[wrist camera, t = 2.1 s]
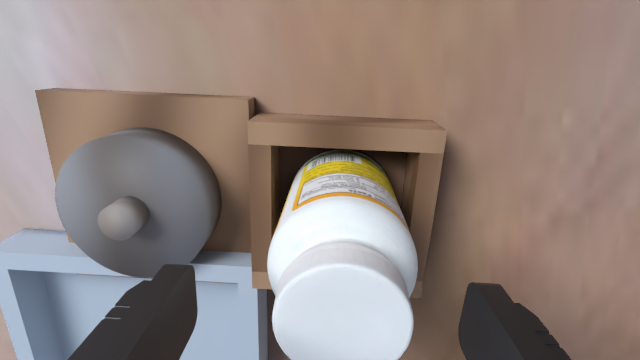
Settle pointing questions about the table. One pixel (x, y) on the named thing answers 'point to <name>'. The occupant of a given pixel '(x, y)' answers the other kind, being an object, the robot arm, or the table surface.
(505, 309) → the robot arm
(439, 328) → the table surface
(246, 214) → the block
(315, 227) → the supplement bottle
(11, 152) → the table surface
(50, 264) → the tray
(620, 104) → the table surface
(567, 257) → the table surface
